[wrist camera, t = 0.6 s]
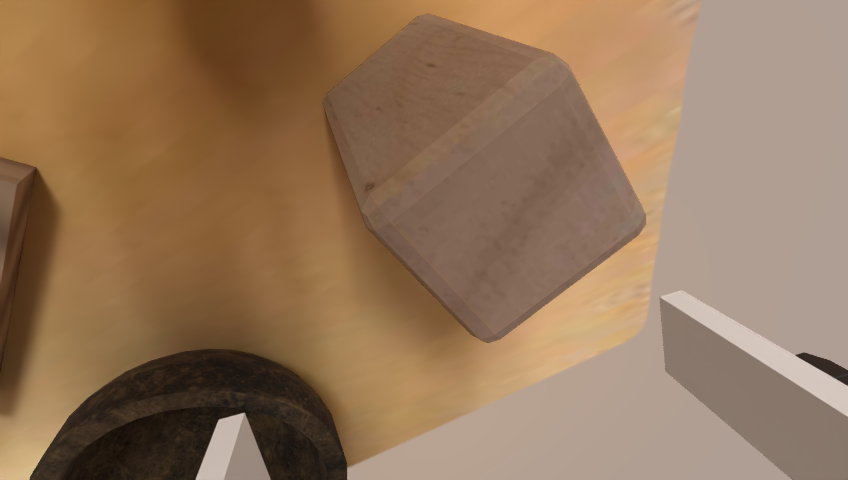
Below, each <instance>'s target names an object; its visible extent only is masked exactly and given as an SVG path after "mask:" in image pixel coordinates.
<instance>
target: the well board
mask: <svg viewBox="0 0 848 480" xmlns="http://www.w3.org/2000/svg"><path fill="white" fill-rule="evenodd" d="M35 172H36V167H33V166H29V165H26V164H22V163H18V162H15V161H11V160H7V159H4V158H0V371H1V365H2V359H3V354H4V348H5V342H6V337H7V331H8V325H9V320H10V314H11V308H12V303H13V297H14V291H15V286H16V280H17V274H18V269H19V263H20V257H21V252H22V246H23V240H24V235H25V229H26V223H27V218H28V212H29V206H30V201H31V195H32V189H33V184H34V178H35Z"/></svg>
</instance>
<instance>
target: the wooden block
mask: <svg viewBox="0 0 848 480" xmlns="http://www.w3.org/2000/svg"><path fill="white" fill-rule="evenodd" d="M322 104H323V106H324V109H325V112H326V115H327V118H328V121H329V124H330V126H331V129H332V132H333V135H334V138H335V140H336V143H337V146H338V149H339V152H340V154H341V157H342V160H343V163H344V166H345V169H346V171H347V174H348V177H349V180H350V183H351V185H352V188H353V191H354V194H355V197H356V200H357V202H358V205H359V208H360V211H361V214H362V216H363V219H364V222H365V225H366V227H367V228H368V229H369V230H370V231H371V232H372V233H373V234H374V236H375V237H376V238H377V239H378V240H379V241H380V242H381V243H382V244H383V245H384V246H385V247H386V248H387V249H388V250H389V251H390V252H391V253H392V254H393V255H394V256H395V257H396V258H397V259H398V260H399V261H400V262H401V263H402V264H403V265H404V266H405V267H406V268H407V269H408V270H409V271H410V272H411V273H412V275H413V276H414V277H415V278H416V279H417V280H418V281H419V282H420V283H421V284H422V285H423V286H424V287H425V288H426V289H427V290H428V291H429V292H430V293H431V294H432V295H433V296H434V297H435V298H436V299H437V300H438V301H439V302H440V303H441V304H442V305H443V306H444V307H445V308H446V309H447V310H448V311H449V312H450V313H451V315H452V316H453V317H454V318H455V319H456V320H457V321H458V322H459V323H460V324H461V325H462V326H463V327H464V328H465V329H466V330H467V331H468V332H469V333H470V334H471V335H473V336H475V337H476V338H478V339H480V340H482V341H484V342H487V343H490V342H493V341H496V340H499V339H501V338H502V337H504V336H505V335H506V334H508V333H509V332H510V331H512V330H513V329H514V328H516V327H517V326H518V325H520V324H521V323H522V322H524V321H525V320H526V319H528V318H529V317H530V316H532V315H533V314H534V313H536V312H537V311H538V310H540V309H541V308H542V307H544V306H545V305H546V304H548V303H549V302H550V301H552V300H553V299H554V298H556V297H557V296H558V295H559V294H561V293H562V292H563V291H565V290H566V289H567V288H569V287H570V286H571V285H573V284H574V283H575V282H577V281H578V280H579V279H581V278H582V277H583V276H585V275H586V274H587V273H589V272H590V271H591V270H593V269H594V268H595V267H597V266H598V265H599V264H601V263H602V262H603V261H605V260H606V259H607V258H609V257H610V256H611V255H613V254H614V253H615V252H617V251H618V250H619V249H621V248H622V247H623V246H625V245H626V244H627V243H629V242H630V241H631V240H633V239H634V238H635V237H637V236H638V235H639V234H640V232H641V231H642V229H643V228H644V227H645V225H646V215H645V212H644V210H643V208H642V205H641V203H640V201H639V199H638V197H637V196H636V194H635V192H634V190H633V188H632V186H631V184H630V182H629V180H628V178H627V176H626V174H625V172H624V170H623V169H622V167H621V165H620V163H619V161H618V159H617V157H616V155H615V153H614V151H613V149H612V147H611V145H610V144H609V142H608V140H607V138H606V136H605V134H604V132H603V130H602V128H601V126H600V124H599V122H598V120H597V119H596V117H595V115H594V113H593V111H592V109H591V107H590V105H589V103H588V101H587V99H586V97H585V95H584V94H583V92H582V90H581V88H580V86H579V84H578V82H577V80H576V78H575V76H574V74H573V72H572V70H571V68H570V67H569V65H568V64H567V63H566V62H565V61H563V60H562V59H560V58H559V57H558V56H556V55H555V54H553V53H550V52H547V51H544V50H541V49H538V48H534V47H531V46H528V45H525V44H522V43H519V42H516V41H513V40H509V39H506V38H503V37H500V36H497V35H494V34H491V33H488V32H484V31H481V30H478V29H475V28H472V27H469V26H466V25H463V24H459V23H456V22H453V21H450V20H447V19H444V18H441V17H437V16H434V15H431V14H425V15H421V16H418V17H416V18H415V19H414V20H413V21H412V22H411V23H409V24H408V25H407V26H406V27H405V28H403V29H402V30H401V31H400V32H399V33H398V34H396V35H395V36H394V37H393V38H392V39H391V40H389V41H388V42H387V43H386V44H385V45H384V46H382V47H381V48H380V49H379V50H378V51H377V52H375V53H374V54H373V55H372V56H371V57H369V58H368V59H367V60H366V61H365V62H364V63H362V64H361V65H360V66H359V67H358V68H357V69H355V70H354V71H353V72H352V73H351V74H350V75H348V76H347V77H346V78H345V79H344V80H343V81H341V82H340V83H339V84H338V85H337V86H335V87H334V88H333V89H332V90H331V91H330V92H328V93H327V95H326V97H325V99H324V101H323V103H322Z"/></svg>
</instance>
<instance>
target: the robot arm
mask: <svg viewBox="0 0 848 480" xmlns="http://www.w3.org/2000/svg"><path fill="white" fill-rule="evenodd" d="M660 308H661V309H660V310H661V322H662V334H663V346H664V357H665V370H666V372H667V373H668V374H669V375H670V376H672V377H673V378H674V379H675V380H676V381H677V382H679V383H680V384H681V385H682V386H683V387H685V388H686V389H687V390H688V391H689V392H690V393H692V394H693V395H694V396H695V397H696V398H698V399H699V400H700V401H701V402H702V403H703V404H704V405H706V406H707V407H708V408H709V409H710V410H711V411H713V412H714V413H715V414H716V415H717V416H718V417H720V418H721V419H722V420H723V421H724V422H725V423H727V424H728V425H729V426H730V427H731V428H732V429H734V430H735V431H736V432H737V433H738V434H740V435H741V436H742V437H743V438H744V439H745V440H746V441H748V442H749V443H750V444H751V445H752V446H753V447H755V448H756V449H757V450H758V451H759V452H760V453H762V454H763V455H764V456H765V457H766V458H768V459H769V460H770V461H771V462H772V463H774V465H776V466H777V467H778V468H779V469H780V470H781V471H783V472H784V473H785V474H786V475H787V476H789V477H790V478H791V479H792V480H848V370H846V369H845V368H843V367H841V366H839V365H837V364H835V363H834V362H832V361H830V360H827V359H824V358H820V357H817V356H814V355H810V354H807V353H801V354H798V355H793V354H791V353H790V352H788V351H786V350H784V349H783V348H781V347H779V346H777V345H776V344H774V343H772V342H770V341H769V340H767V339H765V338H763V337H762V336H760V335H758V334H756V333H755V332H753V331H751V330H750V329H748V328H746V327H744V326H743V325H741V324H739V323H737V322H736V321H734V320H732V319H731V318H729V317H727V316H725V315H724V314H722V313H720V312H718V311H716V310H714V309H713V308H711V307H710V306H708V305H706V304H704V303H703V302H701V301H699V300H698V299H696V298H694V297H692V296H691V295H689V294H687V293H685V292H684V291H679V292H675V293H671V294H667V295H664V296H660ZM196 480H271V479H270V476H269V474H268V471H267V469H266V466H265V464H264V461H263V458H262V456H261V453H260V451H259V448H258V446H257V443H256V440H255V438H254V435H253V433H252V430H251V428H250V425H249V422H248V420H247V417H246V415H245V413H241V414H238V415H234V416H231V417H227V418H223V419H220V420H218V423H217V425H216V428H215V431H214V433H213V436H212V438H211V441H210V444H209V446H208V449H207V451H206V454H205V456H204V459H203V462H202V464H201V467H200V469H199V472H198V475H197V477H196Z"/></svg>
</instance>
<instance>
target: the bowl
mask: <svg viewBox="0 0 848 480" xmlns="http://www.w3.org/2000/svg"><path fill="white" fill-rule="evenodd" d="M241 413H245V415H246V417H247V420H248V422H249V425H250V428H251V430H252V433H253V435H254V438H255V440H256V443H257V446H258V448H259V451H260V453H261V456H262V458H263V461H264V464H265V466H266V469H267V471H268V474H269V476H270V479H271V480H347V462H346V459H345V456H344V452H343V449H342V446H341V443H340V440H339V437H338V433H337V430H336V427H335V424H334V421H333V418H332V415H331V413H330V412H329V410H328V409H327V407H326V406H325V404H324V403H323V401H322V400H321V398H320V397H319V396H318V395H317V394H316V393H315V392H314V390H313V389H312V388H311V387H310V386H309V385H308V384H306V383H305V382H304V381H303V380H302V379H301V378H300V377H299V376H298V375H296V374H295V373H293V372H291V371H289V370H288V369H286V368H284V367H283V366H281V365H279V364H277V363H275V362H273V361H270V360H267V359H265V358H262V357H259V356H256V355H253V354H250V353H245V352H239V351H234V350H220V349H204V350H195V351H186V352H181V353H177V354H174V355H170V356H166V357H162V358H159V359H156V360H152V361H149V362H147V363H145V364H142V365H140V366H138V367H136V368H133V369H131V370H129V371H126V372H125V373H123V374H122V375H120V376H119V377H117V378H116V379H114V380H113V381H111V382H109V383H108V384H106V385H105V386H104V387H102V388H101V389H99V390H98V391H97V392H95V393H94V394H93V395H91V396H90V397H88V398H87V399H86V400H85V401H84V402H83V403H82V404H81V405H80V406H79V407H78V408H77V409H76V410H75V411H74V412H73V413H72V414H71V415H70V416H69V418H68V419H67V421H66V422H65V423H64V425H63V426H62V428H61V429H60V431H59V432H58V434H57V435H56V437H55V438H54V440H53V441H52V443H51V444H50V446H49V447H48V449H47V450H46V452H45V453H44V455H43V457H42V458H41V460H40V462H39V463H38V465H37V466H36V468H35V470H34V471H33V473H32V475H31V476H30V480H196V477H197V475H198V472H199V469H200V467H201V464H202V462H203V459H204V456H205V454H206V451H207V449H208V446H209V444H210V441H211V438H212V436H213V433H214V431H215V428H216V425H217V423H218V420H220V419H223V418H227V417H231V416H234V415H238V414H241Z"/></svg>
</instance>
